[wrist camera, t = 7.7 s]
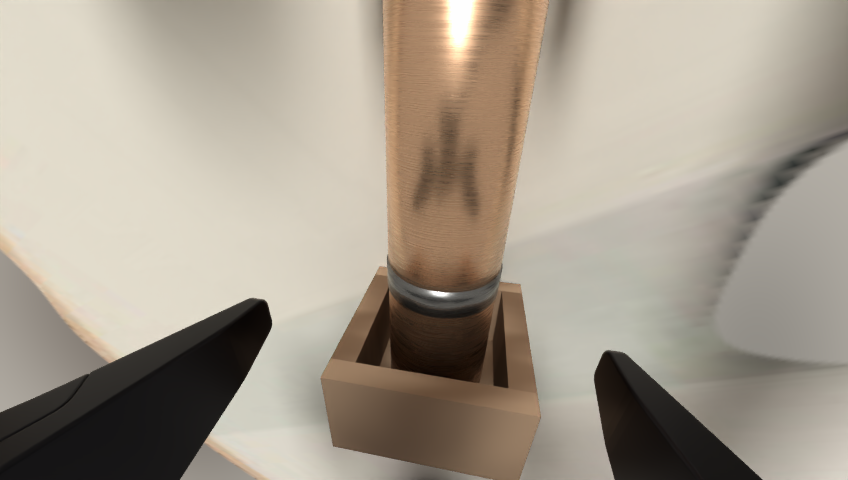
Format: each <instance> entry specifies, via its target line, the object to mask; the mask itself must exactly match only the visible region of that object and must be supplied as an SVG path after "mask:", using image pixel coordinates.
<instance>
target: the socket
mask: <svg viewBox="0 0 848 480" xmlns="http://www.w3.org/2000/svg"><path fill="white" fill-rule="evenodd" d="M321 383H322V388H323V394H324V399H325V404H326V410H327V415H328V421H329V426H330V432H331V437H332V443H333V446H335V447H339V448H344V449H349V450H354V451H359V452H363V453H368V454H373V455H378V456H383V457H388V458H392V459H397V460H402V461H407V462H412V463H416V464H421V465H426V466H431V467H436V468H440V469H445V470H450V471H455V472H460V473H465V474H469V475H474V476H479V477H484V478H489V479H493V480H519V478H520V476H521V473H522V470H523V467H524V464H525V461H526V458H527V456H528V453H529V450H530V447H531V444H532V441H533V438H534V435H535V433H536V430H537V427H538V424H539V421H540V418H541V414H540V408H539V402H538V395H537V389H536V382H535V376H534V369H533V363H532V356H531V350H530V343H529V337H528V330H527V324H526V317H525V311H524V305H523V298H522V292H521V285H520V284H512V283H505V282H500V283H499V289H498V293H497V297H496V298H495V303H494V308H493V314H492V319H491V325H490V330H489V336H488V342H487V347H486V353H485V358H484V364H483V369H482V375H481V379H480V382H479V383H473V382H467V381H461V380H455V379H450V378H444V377H438V376H432V375H426V374H420V373H414V372H408V371H402V370H397V369H391V348H390V304H389V288H388V277H387V267H379V269H378V271H377V273H376V274H375V276H374V278H373V280H372V282H371V284H370V286H369V288H368V289H367V291H366V293H365V295H364V297H363V299H362V301H361V303H360V305H359V306H358V308H357V310H356V312H355V314H354V316H353V318H352V320H351V321H350V323H349V325H348V327H347V329H346V331H345V333H344V335H343V336H342V338H341V340H340V342H339V344H338V346H337V348H336V350H335V352H334V353H333V355H332V357H331V359H330V361H329V363H328V365H327V367H326V368H325V370H324V372H323V374H322V376H321Z"/></svg>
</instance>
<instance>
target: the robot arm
mask: <svg viewBox="0 0 848 480" xmlns="http://www.w3.org/2000/svg"><path fill="white" fill-rule="evenodd" d="M271 327H272V319H271V315H270V311H269V307H268V304H267V302H266V301H265V300H263V299H257V298H249V299H247V300H245V301H243V302H241V303H238V304H236V305H234V306H232V307H230V308H228V309H226V310H223V311H221V312H219V313H217V314H215V315H213V316H210V317H208V318H206V319H204V320H202V321H200V322H198V323H195V324H193V325H191V326H189V327H187V328H185V329H182V330H180V331H178V332H176V333H174V334H172V335H170V336H167V337H165V338H163V339H161V340H159V341H157V342H154V343H152V344H150V345H148V346H146V347H144V348H142V349H139V350H137V351H135V352H133V353H131V354H129V355H126V356H124V357H122V358H120V359H118V360H116V361H114V362H111V363H109V364H107V365H105V366H103V367H101V368H99V369H96V370H94V371H92V372H91V373H90V374H86V375H83V376H81V377H79V378H77V379H75V380H73V381H70V382H68V383H66V384H64V385H62V386H60V387H58V388H55V389H53V390H51V391H49V392H46V393H44V394H42V395H40V396H38V397H35V398H33V399H31V400H28V401H26V402H24V403H21V404H19V405H17V406H14V407H12V408H10V409H7V410H5V411H3V412H0V480H180V478H181V477H182V476H183V474H184V472H185V471H186V469H187V468H188V466H189V465H190V463H191V462H192V460H193V459H194V457H195V456H196V454H197V452H198V451H199V449H200V448H201V446H202V445H203V443H204V442H205V440H206V439H207V437H208V435H209V434H210V432H211V431H212V429H213V428H214V426H215V425H216V423H217V422H218V420H219V419H220V417H221V415H222V414H223V412H224V411H225V409H226V408H227V406H228V405H229V403H230V402H231V400H232V398H233V397H234V395H235V394H236V392H237V391H238V389H239V388H240V386H241V384H242V383H243V381H244V380H245V378H246V376H247V374H248V372H249V371H250V369H251V367H252V365H253V363H254V361H255V359H256V357H257V355H258V353H259V351H260V349H261V348H262V346H263V344H264V342H265V340H266V338H267V336H268V334H269V332H270V330H271ZM594 383H595V389H596V395H597V401H598V406H599V412H600V418H601V424H602V430H603V435H604V440H605V446H606V449H607V453H608V457H609V461H610V464H611V468H612V471H613V475H614V479H615V480H762V479H761V478H760V477H759V476H758V475H757V474H756V473H755V472H754V471H753V470H752V469H750V468H749V467H748V466H747V465H746V464H745V463H744V462H743V461H742V460H741V459H740V458H739V457H737V456H736V455H735V454H734V453H733V452H732V451H731V450H730V449H729V448H728V447H727V446H725V445H724V444H723V443H722V442H721V441H720V440H719V439H718V438H717V437H716V436H715V435H713V434H712V433H711V432H710V431H709V430H708V429H707V428H706V427H705V426H704V425H703V424H702V423H700V422H699V421H698V420H697V419H696V418H695V417H694V416H693V415H692V414H691V413H690V412H688V411H687V410H686V409H685V408H684V407H683V406H682V405H681V404H680V403H679V402H678V401H676V400H675V399H674V398H673V397H672V396H671V395H670V394H669V393H668V392H667V391H666V390H665V389H663V388H662V387H661V386H660V385H659V384H658V383H657V382H656V381H655V380H654V379H653V378H651V377H650V376H649V375H648V374H647V373H646V372H645V371H644V370H643V369H642V368H641V367H639V366H638V365H637V364H636V363H635V362H634V361H633V360H632V359H631V358H630V357H629V356H627V355H626V354H625V353H623V352H617V351H611V350H606V351H605V352H604V353H603V354H602V357H601V359H600V361H599V364H598V366H597V368H596V371H595V374H594Z"/></svg>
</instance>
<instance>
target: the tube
mask: <svg viewBox="0 0 848 480" xmlns="http://www.w3.org/2000/svg"><path fill="white" fill-rule="evenodd" d="M548 5H549V0H383V40H384V84H385V128H386V172H387V216H388V256H387V277H388V288H389V304H390V348H391V369H397V370H402V371H408V372H414V373H420V374H426V375H432V376H438V377H444V378H450V379H455V380H461V381H467V382H473V383H479V382H480V379H481V375H482V369H483V364H484V358H485V353H486V347H487V342H488V336H489V330H490V325H491V319H492V314H493V308H494V303H495V298H496V297H497V293H498V289H499V283H500V278H501V273H502V259H503V253H504V248H505V242H506V237H507V231H508V226H509V220H510V215H511V209H512V204H513V198H514V193H515V187H516V182H517V176H518V170H519V165H520V159H521V154H522V148H523V143H524V137H525V132H526V126H527V121H528V115H529V110H530V104H531V99H532V93H533V88H534V82H535V77H536V71H537V66H538V60H539V55H540V49H541V44H542V38H543V33H544V27H545V22H546V16H547V10H548Z"/></svg>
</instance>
